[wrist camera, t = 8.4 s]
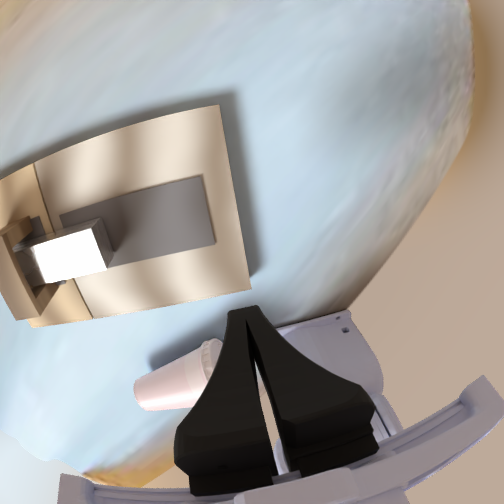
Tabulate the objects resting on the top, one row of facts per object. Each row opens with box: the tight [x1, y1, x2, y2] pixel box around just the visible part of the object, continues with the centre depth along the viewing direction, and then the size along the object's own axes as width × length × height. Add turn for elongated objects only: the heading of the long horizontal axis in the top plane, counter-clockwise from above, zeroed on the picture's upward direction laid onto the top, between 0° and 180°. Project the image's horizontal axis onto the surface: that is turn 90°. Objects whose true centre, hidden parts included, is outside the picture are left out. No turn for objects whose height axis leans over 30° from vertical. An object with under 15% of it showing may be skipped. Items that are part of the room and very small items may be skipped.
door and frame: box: [0, 104, 252, 328], centre depth 17 cm, size 22×14×6 cm, turn 99°
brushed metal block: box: [12, 217, 115, 287], centre depth 17 cm, size 9×3×2 cm, turn 99°
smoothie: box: [134, 338, 255, 411], centre depth 24 cm, size 6×6×14 cm
